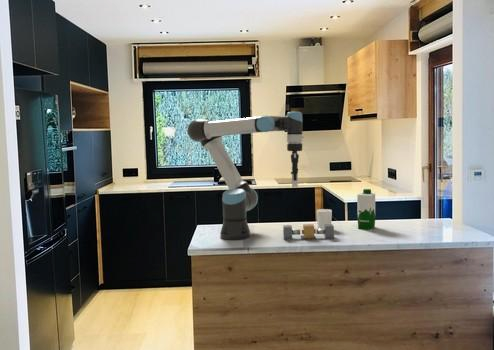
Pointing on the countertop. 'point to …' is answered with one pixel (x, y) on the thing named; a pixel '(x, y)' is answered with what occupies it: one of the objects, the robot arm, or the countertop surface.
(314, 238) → the pad
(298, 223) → the countertop surface
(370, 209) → the milk carton
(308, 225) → the coupler
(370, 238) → the countertop surface
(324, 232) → the grey knob with stem
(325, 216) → the white cup
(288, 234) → the bearing
